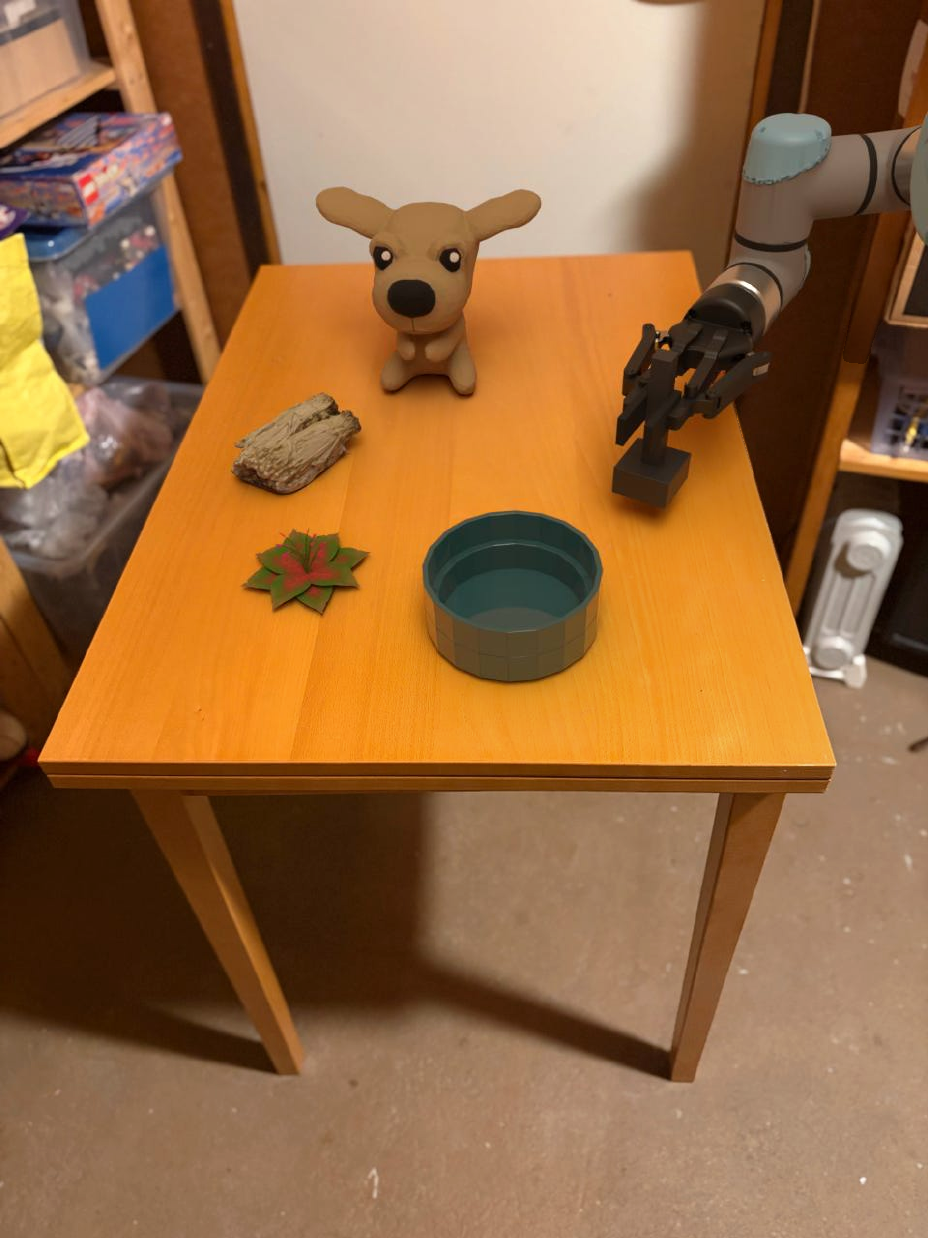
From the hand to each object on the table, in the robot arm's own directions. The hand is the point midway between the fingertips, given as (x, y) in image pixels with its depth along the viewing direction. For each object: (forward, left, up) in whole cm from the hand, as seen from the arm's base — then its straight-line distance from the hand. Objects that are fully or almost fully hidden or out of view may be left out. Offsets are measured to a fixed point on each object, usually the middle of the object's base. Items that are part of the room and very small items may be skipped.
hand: (633, 435), depth 80 cm
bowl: (+4, +14, -12) cm, 19 cm away
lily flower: (+24, +18, -12) cm, 33 cm away
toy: (+33, -18, -12) cm, 39 cm away
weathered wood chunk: (+36, +4, -12) cm, 38 cm away
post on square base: (0, -6, -9) cm, 11 cm away
